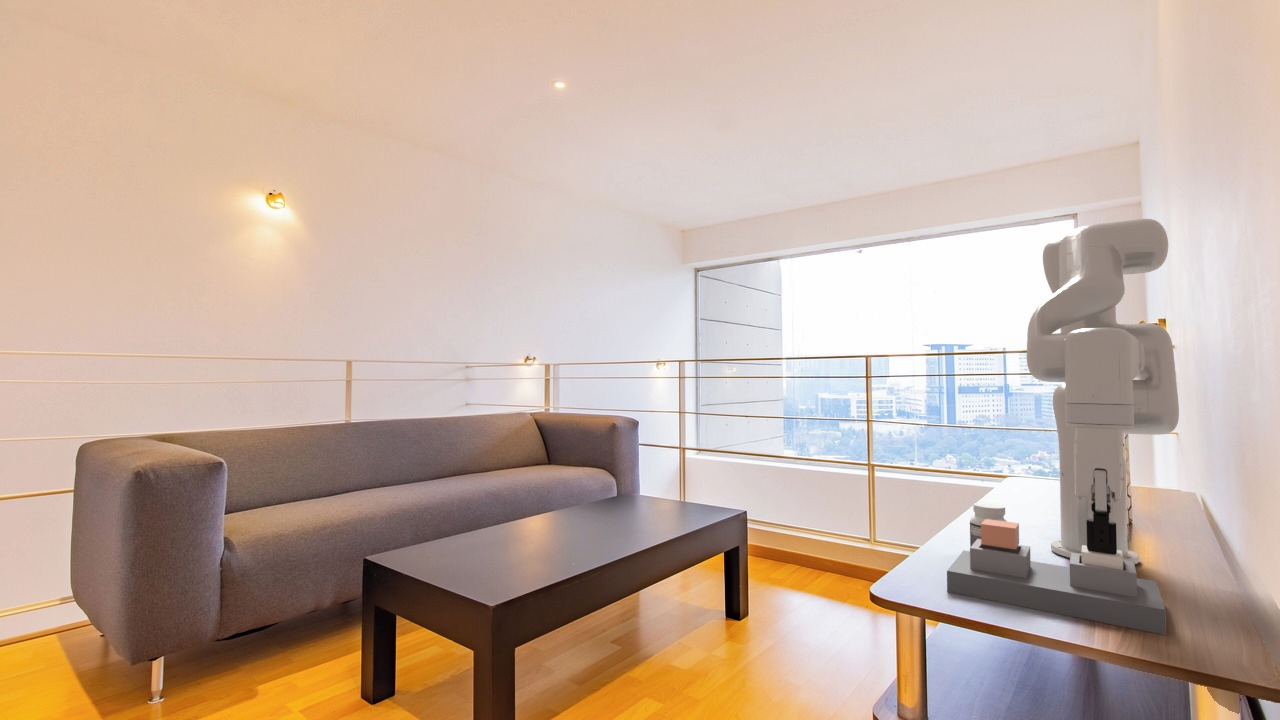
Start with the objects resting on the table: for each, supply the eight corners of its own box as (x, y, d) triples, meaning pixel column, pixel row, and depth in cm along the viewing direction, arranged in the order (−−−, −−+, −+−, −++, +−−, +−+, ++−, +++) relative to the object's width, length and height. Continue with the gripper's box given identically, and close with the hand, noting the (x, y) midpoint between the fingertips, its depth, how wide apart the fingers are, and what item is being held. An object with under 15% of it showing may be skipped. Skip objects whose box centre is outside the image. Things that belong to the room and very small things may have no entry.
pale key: (1082, 566, 84) (1081, 545, 85) (1122, 572, 82) (1121, 550, 82) (1081, 573, 81) (1081, 551, 81) (1123, 580, 78) (1122, 557, 78)
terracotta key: (985, 538, 92) (985, 518, 92) (1019, 543, 89) (1018, 523, 89) (981, 544, 88) (980, 523, 88) (1016, 549, 86) (1015, 528, 86)
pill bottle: (984, 557, 104) (984, 500, 105) (1017, 567, 99) (1016, 507, 100) (963, 561, 102) (962, 503, 102) (995, 571, 97) (994, 509, 97)
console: (963, 568, 98) (963, 532, 98) (1156, 602, 83) (1155, 559, 83) (947, 591, 87) (946, 549, 87) (1166, 635, 72) (1164, 584, 72)
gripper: (1067, 415, 90) (1069, 537, 89) (1063, 417, 79) (1066, 557, 78) (1131, 417, 86) (1134, 545, 85) (1137, 419, 74) (1141, 569, 73)
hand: (1101, 551), depth 81 cm, fingers closed
